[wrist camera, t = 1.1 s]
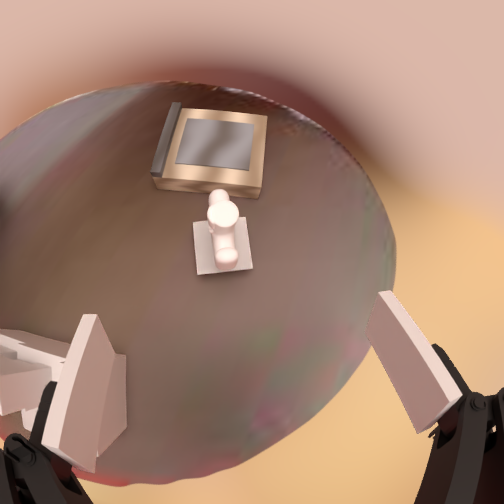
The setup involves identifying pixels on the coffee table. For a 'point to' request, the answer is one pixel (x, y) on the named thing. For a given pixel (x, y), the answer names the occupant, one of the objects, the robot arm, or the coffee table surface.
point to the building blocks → (49, 369)
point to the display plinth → (210, 152)
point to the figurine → (221, 237)
